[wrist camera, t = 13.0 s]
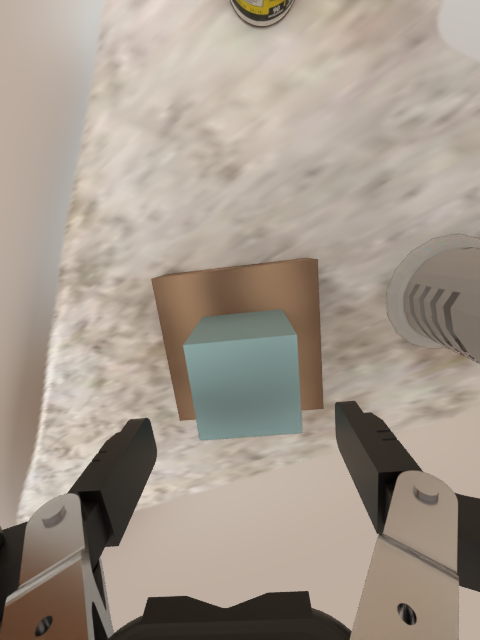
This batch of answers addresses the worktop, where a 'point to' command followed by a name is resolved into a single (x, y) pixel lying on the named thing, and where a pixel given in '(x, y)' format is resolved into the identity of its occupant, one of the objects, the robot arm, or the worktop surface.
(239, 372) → the teal cube
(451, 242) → the french press
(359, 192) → the worktop surface
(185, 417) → the walnut block
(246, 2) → the supplement bottle
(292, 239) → the worktop surface
